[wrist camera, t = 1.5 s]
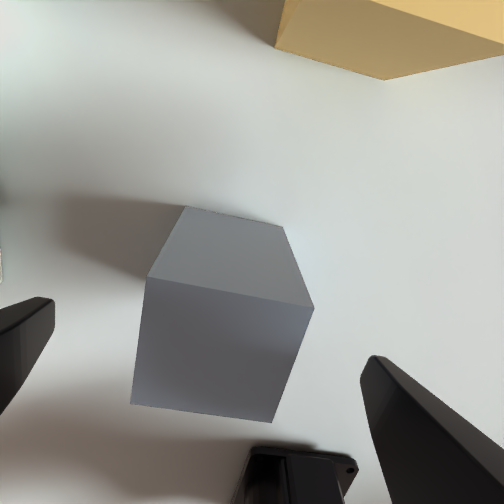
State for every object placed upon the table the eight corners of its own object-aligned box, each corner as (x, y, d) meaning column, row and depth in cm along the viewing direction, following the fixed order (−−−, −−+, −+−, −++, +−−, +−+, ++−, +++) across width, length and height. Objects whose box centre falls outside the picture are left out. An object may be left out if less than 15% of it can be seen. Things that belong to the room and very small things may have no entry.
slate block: (258, 307, 15) (271, 423, 9) (171, 291, 14) (130, 403, 9) (282, 227, 13) (314, 307, 8) (185, 205, 13) (146, 276, 7)
